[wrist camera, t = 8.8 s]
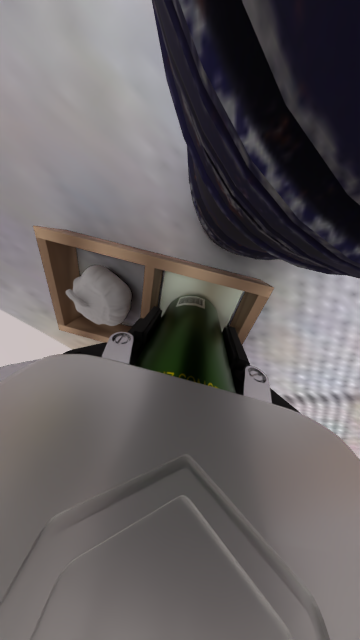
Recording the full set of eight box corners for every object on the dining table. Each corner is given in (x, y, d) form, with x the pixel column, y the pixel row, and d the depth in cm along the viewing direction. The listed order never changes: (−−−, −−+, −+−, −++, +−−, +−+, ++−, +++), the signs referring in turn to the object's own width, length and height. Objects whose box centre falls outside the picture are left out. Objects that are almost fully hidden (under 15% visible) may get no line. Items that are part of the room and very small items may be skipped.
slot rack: (80, 319, 18) (59, 331, 16) (65, 229, 14) (33, 225, 11) (220, 357, 18) (223, 376, 15) (259, 279, 13) (274, 287, 10)
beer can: (161, 295, 14) (31, 450, 3) (216, 288, 13) (286, 487, 2) (171, 339, 16) (114, 511, 6) (218, 337, 15) (257, 543, 5)
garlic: (83, 270, 15) (32, 280, 11) (125, 257, 14) (88, 262, 9) (108, 318, 18) (75, 342, 13) (146, 311, 17) (124, 335, 12)
